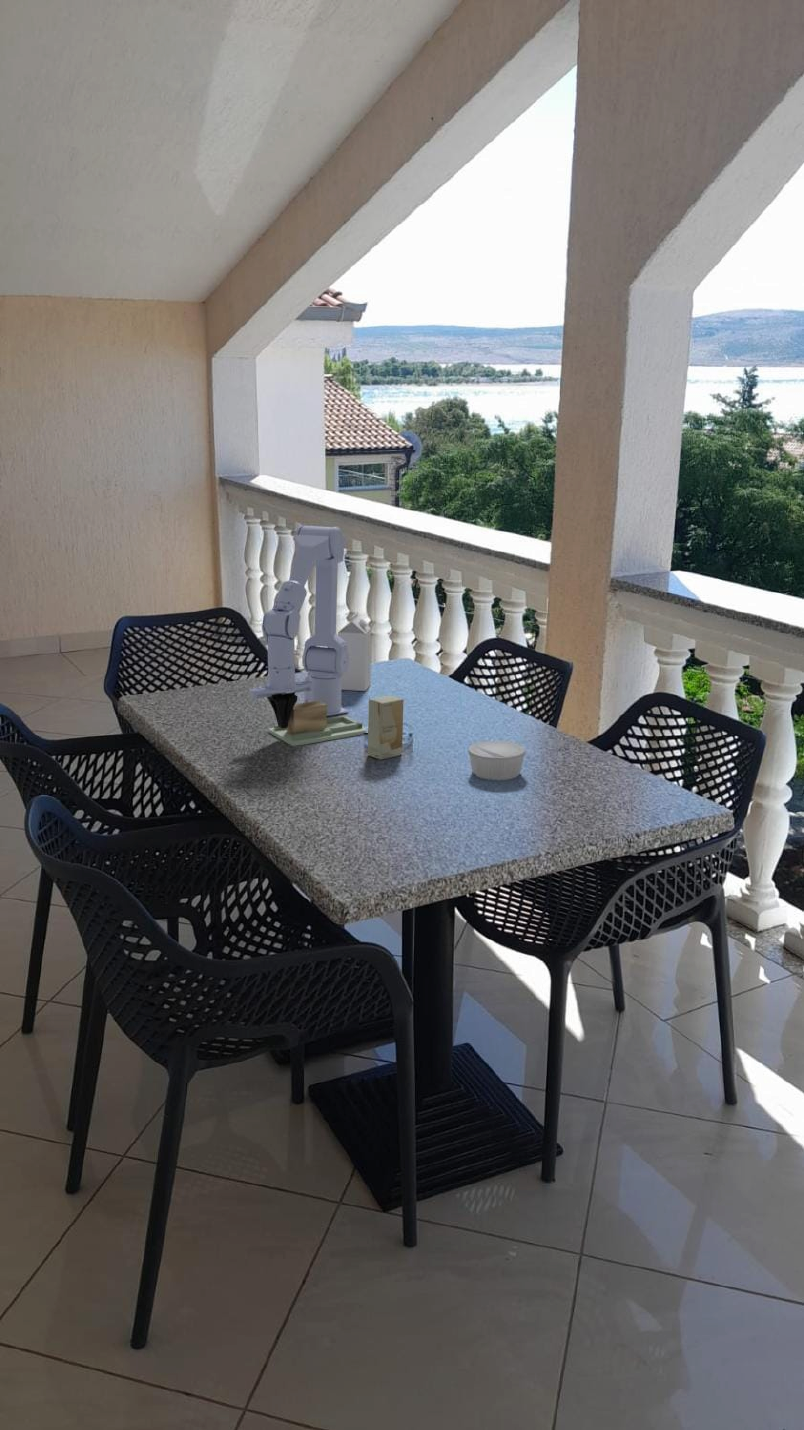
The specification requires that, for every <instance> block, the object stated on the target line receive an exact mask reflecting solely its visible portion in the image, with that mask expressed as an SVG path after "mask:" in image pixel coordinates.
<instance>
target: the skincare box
mask: <svg viewBox="0 0 804 1430" xmlns="http://www.w3.org/2000/svg"><path fill="white" fill-rule="evenodd" d="M367 724H368V726H367V727H368V728H367V729H368V734H367V755H368V756H370V757H373V758H375V759H377V760H381V761H382V760H385V759H390V758H394V757H397V756H402V755H403V735H404V732H403V731H404V729H403V728H404V698H401V697H398V696H394V695H391V694H390V695H385V696H379V697H375V698H374V697H373V698H369V699H368V723H367Z"/></svg>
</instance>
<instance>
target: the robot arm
mask: <svg viewBox="0 0 804 1430" xmlns="http://www.w3.org/2000/svg"><path fill="white" fill-rule="evenodd" d="M293 540H294V549H295V553H296V554H295V558H294V561H293V565H292V569H291V570H290V571H291V572H290V576H289V579H288V580H287V581H284V582H283V583H282V584H281V586H280V588H279V591H278V593H277V597H276V598H275V601H274V603H273V606H272V609H270V610H269V611H268V612H267V611H266V613H265V614H264V616H263V618H262V622H261V630H262V634H263V636H264V644H265V645H266V646H267V666H268V667H267V668H268V669H267V673H268V679H267V680H268V684H266V685H263V686H259V687H258V686H257V687H254V688H250V689H249V691H248V693H249V696H248V697H249V699H251V700H253V701H255V700H258V699H263V698H267V700H268V702H269V704H270V706H271V708H272V710H273V713H274V714H275V719H276V722H277V724H278V726H279V727H280V728H287V727H288V722H289V718H290V715H291V712H292V709H293V707H294V705H295V704H297V701H298V696H297V694H296V693H303V696H304V700H303V701H304V702H303V703H307V702H313V701H321V702H323V703H325V704H327V717H329V716H330V717H331V716H336V715H337V716H338V715H343V714H348V713H349V710H348V709H346V708H344V707H342V690H341V676H342V675H344V674H345V672H346V671H347V669H348V666H349V655H348V649H347V643H346V642H345V641H344V640H343V639H342V638H341V637H340V636H338V633H337V613H338V611H337V605H338V566H339V564H340V563H341V562H344V557H345V556H344V555H345V535H344V534H343V532H342V530H341V528H340V527H339V526H333V527H332V526H316V525H305V524H301V525H299V526H298V527H297V528H296V530H295V533H294V539H293ZM314 568H315V596H314V597H315V598H314V599H315V602H314V603H315V604H314V634H313V635H311V636H310V637H309V638H308V639H306V641H305V642H304V648H303V653H302V657H301V660H302V661H301V662H302V667H303V670H304V671H305V672H307V675H306V676H305V678H304V681H296V661H295V660H296V658H295V657H296V656H295V655H296V654H295V651H296V649H295V648H296V647H295V646H296V645H295V641H296V639H295V638H296V637H297V635H298V633H299V631H300V621H301V617H302V616H301V614H300V613H301V610H302V608H303V605H304V602H305V600H306V597H307V595H308V594H307V593H308V591H307V589H306V588H305V585H306V584H307V582H308V581H309V578H310V575H311V574H312V572H313V569H314Z"/></svg>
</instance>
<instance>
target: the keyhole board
mask: <svg viewBox="0 0 804 1430" xmlns="http://www.w3.org/2000/svg"><path fill="white" fill-rule="evenodd" d="M366 729H368V728H366V727H365V726H363V723H362V722H360V721H358V720H356V719H354V718H352V717H350V716H347V715H346V714H344V715H343V714H341V715H337V716H336V715H335V716H330V717H327V728H325V729H321V730H318V731H313V732H307V733H301V734H295V735H292V734H290V733H288V732H287V728H280V727H279V726H278V723H277V724H273V727H270V728H268V729H267V732H268V733H269V734H270V735H272V736H275V737H276V738H277V739H279V740H281V741H282V742H284V743H286V744H288V745H290V746H291V747H298V746H303V745H309V744H314V743H320V742H327V741H331V740H337V739H338V740H339V739H345V738H350V737H354V736H355V737H356V736H361V735H364V734H363V733H364V732H365V731H366Z"/></svg>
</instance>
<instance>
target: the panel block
mask: <svg viewBox="0 0 804 1430" xmlns="http://www.w3.org/2000/svg"><path fill="white" fill-rule="evenodd" d="M327 718H328V716H327V704H325V703H323V702H321V701H313V702H307V703H304V702H301V703H295V705H294V707H293V709H292V712H291V715H290V718H289V722H288V727H287V732H288V733H290V734H292V735H295V734H301V733H307V732H313V731H318V730H321V729H325V728H327Z"/></svg>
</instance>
